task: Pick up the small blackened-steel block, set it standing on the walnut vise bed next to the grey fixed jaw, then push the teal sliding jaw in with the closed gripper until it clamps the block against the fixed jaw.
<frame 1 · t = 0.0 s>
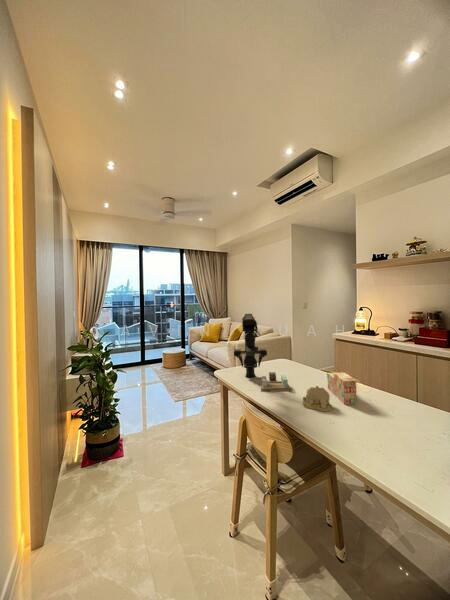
hand: (250, 367, 144), 15 cm above the table, fingers open, 9 cm apart
block: (272, 380, 161), on the table
ceramic model: (317, 406, 124), on the table
vise base: (274, 387, 150), on the table
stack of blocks: (341, 396, 135), on the table
sliding jaw: (284, 381, 150), point 4 cm above the table, slide at 0.0 cm
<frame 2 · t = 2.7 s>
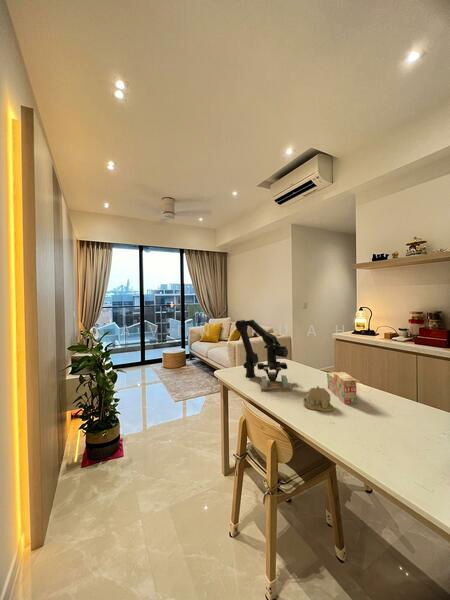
hand: (272, 379, 161), 1 cm above the table, fingers closed on block, 4 cm apart
block: (272, 380, 161), on the table, touching gripper
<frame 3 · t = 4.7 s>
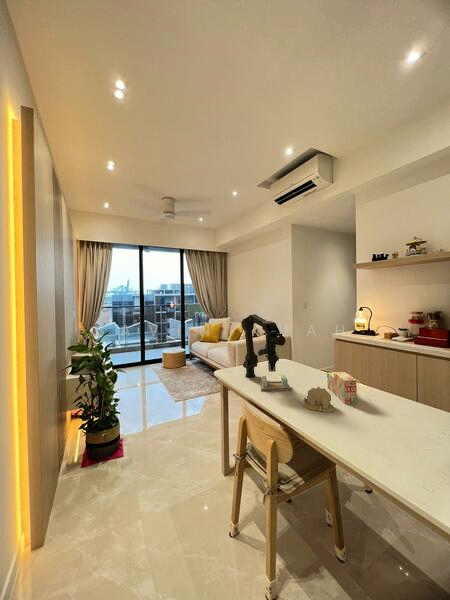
hand: (271, 368, 150), 11 cm above the table, fingers closed on block, 4 cm apart
block: (271, 370, 150), point 10 cm above the table, touching gripper
when the fingers open (3 cm above the table, at t = 6.5 s): block stays where it is, resting on vise base.
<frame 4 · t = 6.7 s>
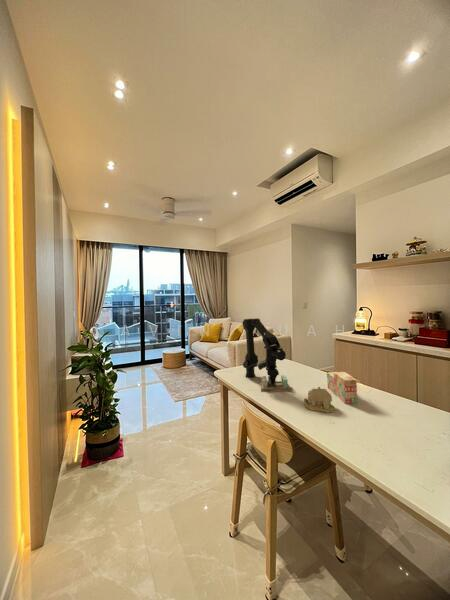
hand: (271, 382, 150), 3 cm above the table, fingers open, 6 cm apart
block: (272, 385, 150), point 1 cm above the table, touching vise base
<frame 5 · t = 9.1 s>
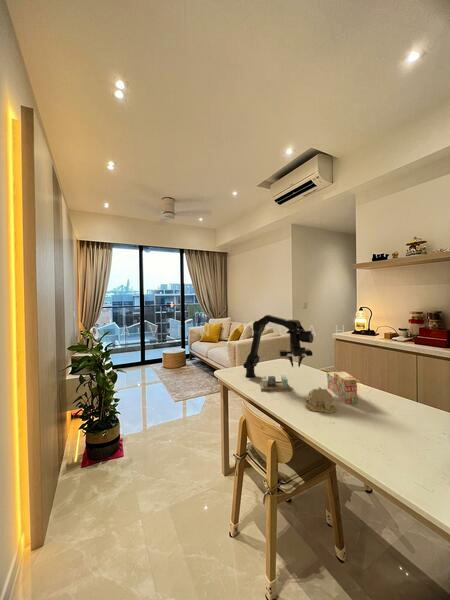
hand: (295, 367, 149), 12 cm above the table, fingers open, 3 cm apart
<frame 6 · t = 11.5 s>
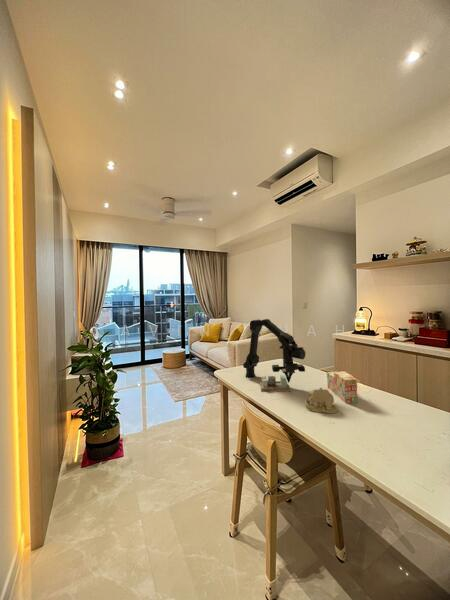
hand: (288, 382, 150), 3 cm above the table, fingers closed
sliding jaw: (283, 381, 150), point 4 cm above the table, slide at 0.7 cm, touching gripper
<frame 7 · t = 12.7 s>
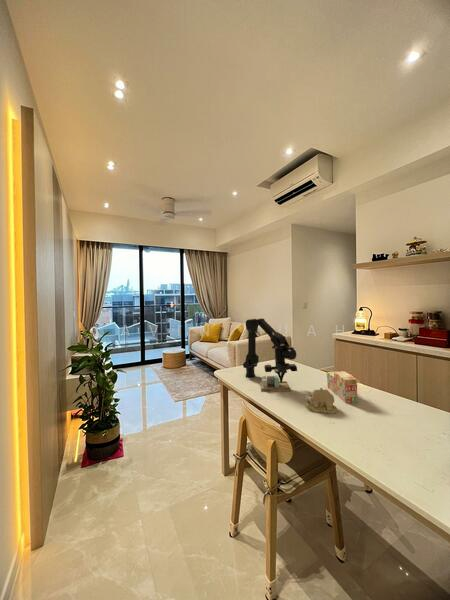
hand: (281, 382, 150), 3 cm above the table, fingers closed
block: (270, 385, 151), point 1 cm above the table, touching sliding jaw, vise base
sliding jaw: (276, 381, 150), point 4 cm above the table, slide at 5.0 cm, touching block, gripper
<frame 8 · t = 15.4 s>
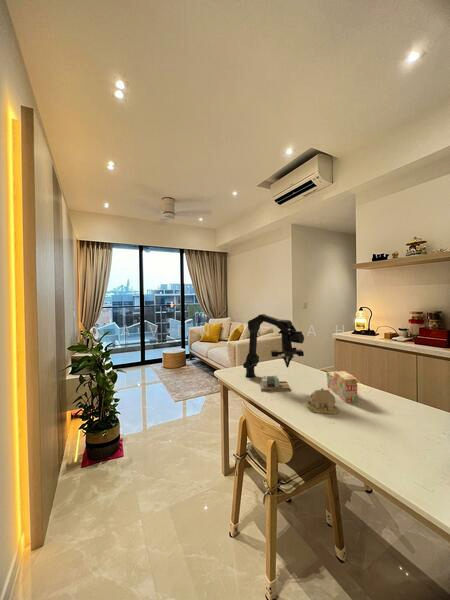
hand: (287, 367, 149), 12 cm above the table, fingers closed
sliding jaw: (276, 381, 150), point 4 cm above the table, slide at 5.0 cm, touching block
at the end: sliding jaw slide at 5.0 cm; block 0.3 cm from the target spot on the vise base, point 1.0 cm above the vise base's base; block tilted 0° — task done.
